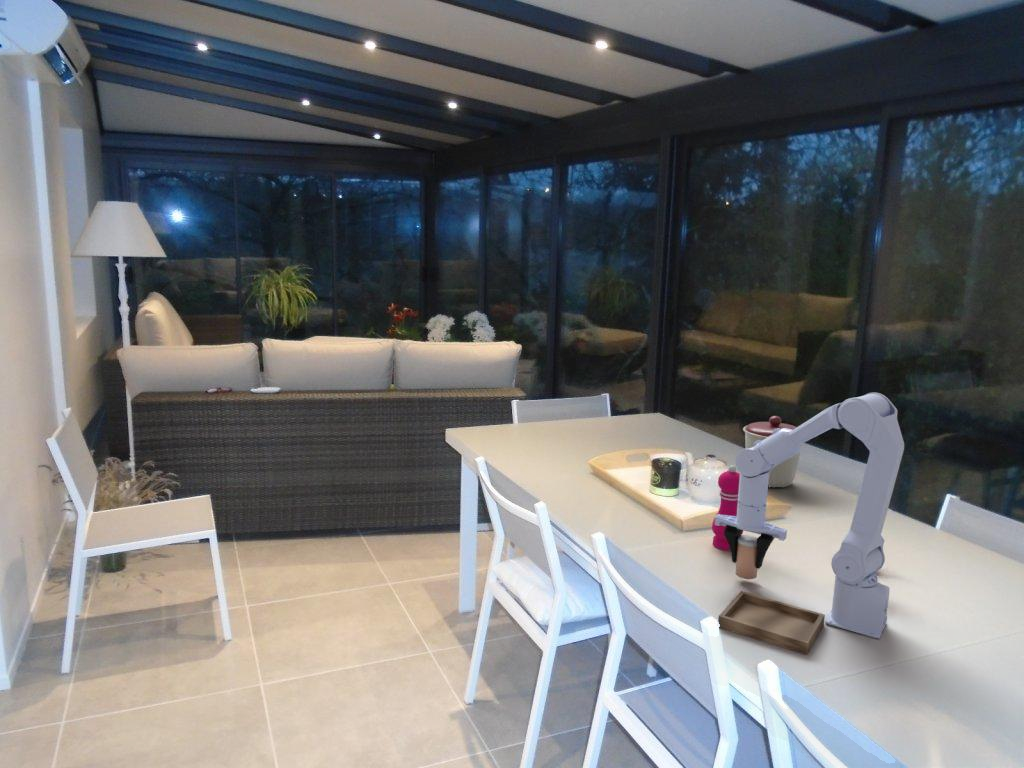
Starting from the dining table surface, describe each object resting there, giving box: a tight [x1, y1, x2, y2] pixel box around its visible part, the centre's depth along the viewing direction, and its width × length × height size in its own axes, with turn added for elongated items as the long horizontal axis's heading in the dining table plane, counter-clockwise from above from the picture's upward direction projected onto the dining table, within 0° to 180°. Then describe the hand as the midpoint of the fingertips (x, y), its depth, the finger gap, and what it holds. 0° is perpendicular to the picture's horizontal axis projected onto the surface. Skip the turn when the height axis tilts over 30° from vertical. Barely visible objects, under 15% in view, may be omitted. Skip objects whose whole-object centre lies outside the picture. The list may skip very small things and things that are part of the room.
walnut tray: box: [717, 590, 826, 656], centre depth 139 cm, size 16×13×2 cm
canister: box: [742, 415, 802, 488], centre depth 224 cm, size 18×18×21 cm
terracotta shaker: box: [734, 534, 759, 580], centre depth 156 cm, size 5×5×8 cm
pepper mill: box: [711, 464, 744, 552], centre depth 175 cm, size 7×7×20 cm
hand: (746, 563), depth 157 cm, fingers closed on terracotta shaker, 4 cm apart
